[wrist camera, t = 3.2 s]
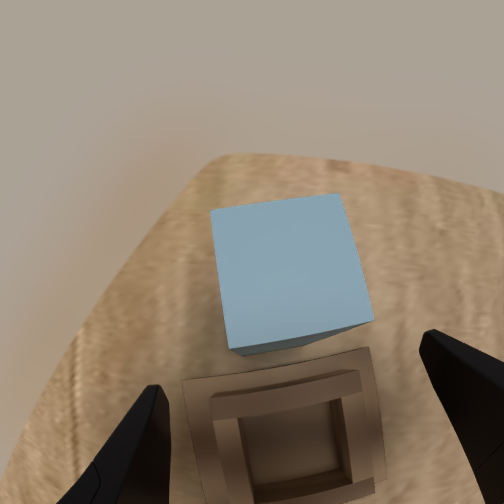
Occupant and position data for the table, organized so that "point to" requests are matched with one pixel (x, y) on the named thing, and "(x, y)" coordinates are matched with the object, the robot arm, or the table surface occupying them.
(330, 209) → the pale blue tower
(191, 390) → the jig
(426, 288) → the table surface
